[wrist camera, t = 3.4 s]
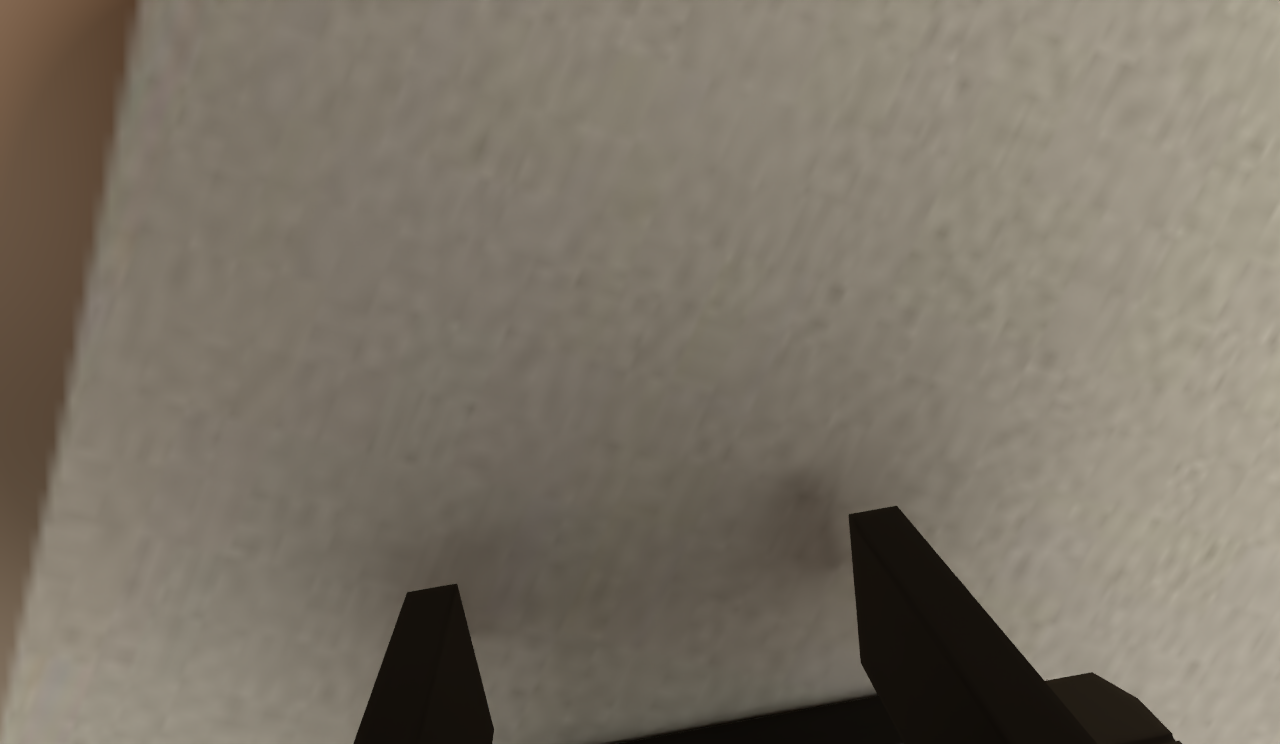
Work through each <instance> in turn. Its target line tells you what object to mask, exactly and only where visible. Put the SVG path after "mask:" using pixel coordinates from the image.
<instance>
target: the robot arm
mask: <svg viewBox="0 0 1280 744" xmlns="http://www.w3.org/2000/svg"><path fill="white" fill-rule="evenodd" d="M849 526H850V538H851V550H852V562H853V574H854V586H855V598H856V610H857V622H858V635H859V647H860V659H861V664H862V666H863V668H864V670H865V671H866V673H867V675H868V677H869V679H870V681H871V683H872V685H873V687H874V688H875V690H876V692H877V694H878V696H879V698H880V700H881V702H882V703H883V705H884V707H885V709H886V711H887V713H888V715H889V717H890V718H891V720H892V722H893V724H894V726H895V728H896V730H897V732H898V734H899V735H900V737H901V739H902V741H903V743H904V744H1182V743H1181V742H1180V741H1175V740H1174V738H1173V736H1172V733H1171V732H1170V731H1169V730H1168V729H1167V728H1166V727H1165V726H1164V725H1163V724H1162V723H1161V722H1160V721H1159V720H1158V719H1157V718H1156V717H1155V716H1154V715H1153V714H1152V713H1151V711H1150V710H1149V709H1148V708H1147V707H1146V706H1145V705H1144V704H1143V703H1142V702H1141V701H1140V700H1139V699H1138V698H1136V697H1134V696H1132V695H1131V694H1129V693H1127V692H1126V691H1124V690H1122V689H1120V688H1119V687H1117V686H1115V685H1113V684H1112V683H1110V682H1108V681H1106V680H1105V679H1103V678H1101V677H1099V676H1098V675H1096V674H1094V673H1093V672H1092V673H1086V674H1081V675H1075V676H1070V677H1064V678H1059V679H1053V680H1048V681H1044V680H1043V679H1042V677H1041V676H1040V675H1039V674H1038V673H1037V672H1036V670H1035V669H1034V668H1033V667H1032V666H1031V664H1030V663H1029V662H1028V661H1027V660H1026V659H1025V657H1024V656H1023V655H1022V654H1021V653H1020V651H1019V650H1018V649H1017V648H1016V647H1015V645H1014V644H1013V643H1012V642H1011V641H1010V640H1009V638H1008V637H1007V636H1006V635H1005V634H1004V632H1003V631H1002V630H1001V629H1000V628H999V626H998V625H997V624H996V623H995V622H994V621H993V619H992V618H991V617H990V616H989V615H988V613H987V612H986V611H985V610H984V609H983V608H982V606H981V605H980V604H979V603H978V602H977V600H976V599H975V598H974V597H973V596H972V594H971V593H970V592H969V591H968V590H967V589H966V587H965V586H964V585H963V584H962V583H961V581H960V580H959V579H958V578H957V577H956V576H955V574H954V573H953V572H952V571H951V570H950V568H949V567H948V566H947V565H946V564H945V562H944V561H943V560H942V559H941V558H940V557H939V555H938V554H937V553H936V552H935V551H934V549H933V548H932V547H931V546H930V545H929V543H928V542H927V541H926V540H925V539H924V538H923V536H922V535H921V534H920V533H919V532H918V530H917V529H916V528H915V527H914V526H913V525H912V523H911V522H910V521H909V520H908V519H907V517H906V516H905V515H904V514H903V513H902V511H901V510H900V509H899V508H898V507H897V506H893V507H888V508H882V509H876V510H871V511H865V512H859V513H854V514H849ZM493 733H494V727H493V724H492V720H491V716H490V712H489V708H488V704H487V700H486V696H485V692H484V688H483V684H482V680H481V676H480V672H479V668H478V664H477V660H476V657H475V653H474V649H473V645H472V641H471V637H470V633H469V629H468V625H467V621H466V617H465V613H464V609H463V605H462V601H461V597H460V593H459V590H458V586H457V584H452V585H446V586H440V587H435V588H429V589H423V590H418V591H412V592H407V594H406V597H405V600H404V603H403V605H402V608H401V611H400V614H399V617H398V620H397V622H396V625H395V628H394V631H393V634H392V637H391V639H390V642H389V645H388V648H387V651H386V653H385V656H384V659H383V662H382V665H381V668H380V670H379V673H378V676H377V679H376V682H375V684H374V687H373V690H372V693H371V696H370V699H369V701H368V704H367V707H366V710H365V713H364V715H363V718H362V721H361V724H360V727H359V730H358V732H357V735H356V738H355V741H354V744H492V741H493Z"/></svg>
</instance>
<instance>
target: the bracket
mask: <svg viewBox="0 0 1280 744" xmlns="http://www.w3.org/2000/svg"><path fill="white" fill-rule="evenodd" d="M619 744H904V743H903V741H902V739H901V737H900V735H899V734H898V732H897V730H896V728H895V726H894V724H893V722H892V720H891V718H890V717H889V715H888V713H887V711H886V709H885V707H884V705H883V703H882V702H881V700H880V698H879V696H875V697H870V698H864V699H859V700H853V701H848V702H842V703H837V704H831V705H826V706H820V707H815V708H810V709H804V710H799V711H793V712H788V713H782V714H777V715H771V716H766V717H760V718H755V719H750V720H744V721H739V722H733V723H728V724H722V725H717V726H711V727H706V728H701V729H695V730H690V731H684V732H679V733H673V734H668V735H662V736H657V737H651V738H646V739H641V740H635V741H630V742H624V743H619Z"/></svg>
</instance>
